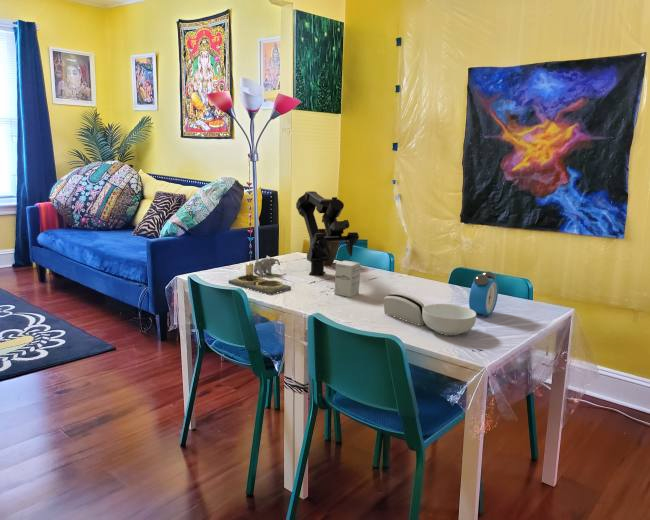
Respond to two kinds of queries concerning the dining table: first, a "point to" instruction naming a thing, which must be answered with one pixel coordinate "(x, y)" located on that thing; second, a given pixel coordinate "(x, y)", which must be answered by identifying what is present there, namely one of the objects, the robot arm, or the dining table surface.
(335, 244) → the plant pot
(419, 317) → the napkin holder
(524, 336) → the dining table surface
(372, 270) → the dining table surface
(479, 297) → the alarm clock
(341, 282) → the supplement box
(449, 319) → the cereal bowl
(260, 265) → the gray elephant figurine
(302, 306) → the dining table surface
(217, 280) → the dining table surface
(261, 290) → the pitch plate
